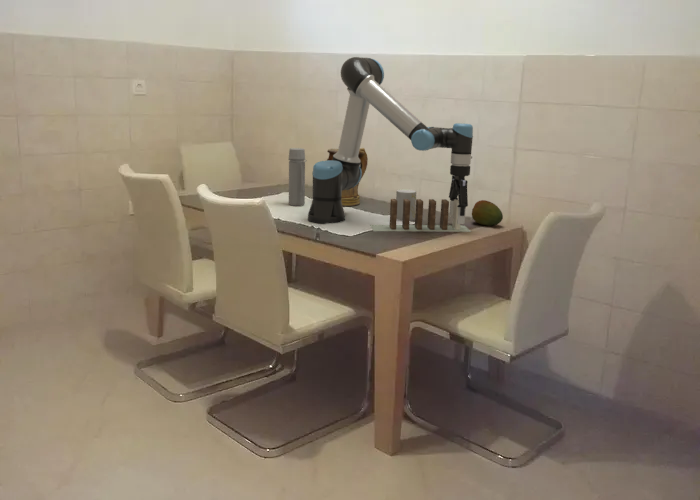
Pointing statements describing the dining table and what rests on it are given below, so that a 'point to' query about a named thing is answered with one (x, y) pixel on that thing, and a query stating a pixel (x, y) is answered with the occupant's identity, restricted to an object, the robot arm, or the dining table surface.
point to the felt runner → (424, 228)
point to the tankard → (351, 195)
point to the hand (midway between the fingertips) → (456, 220)
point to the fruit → (486, 213)
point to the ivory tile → (455, 215)
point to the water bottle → (296, 176)
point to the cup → (399, 197)
